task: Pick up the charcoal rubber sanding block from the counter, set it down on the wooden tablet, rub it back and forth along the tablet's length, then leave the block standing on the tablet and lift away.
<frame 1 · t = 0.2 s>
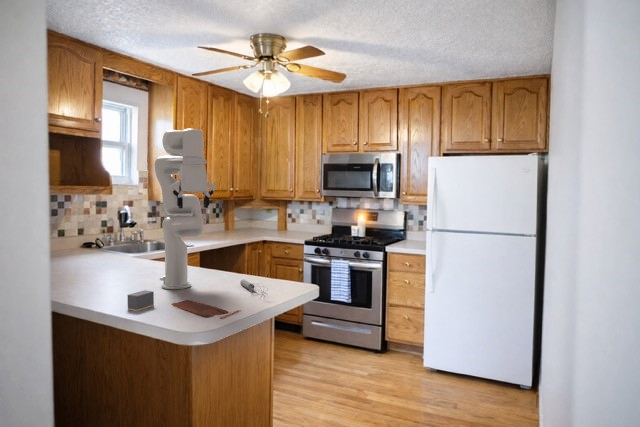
hand: (193, 207, 168), 37 cm above the table, tool pointing down, fingers open, 9 cm apart
sanding block: (141, 307, 164), on the table
carpenter pencil: (229, 315, 155), on the table
kitchen whisk: (250, 293, 190), on the table
wooden tablet: (197, 310, 164), on the table
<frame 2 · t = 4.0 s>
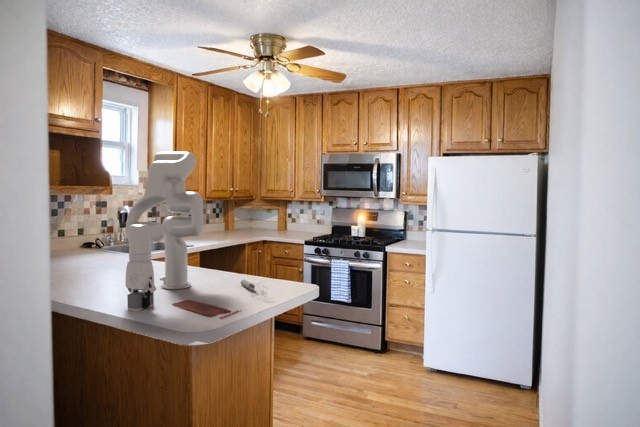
hand: (140, 306, 164), 0 cm above the table, tool pointing down, fingers closed on sanding block, 4 cm apart
sanding block: (140, 307, 164), on the table, touching gripper
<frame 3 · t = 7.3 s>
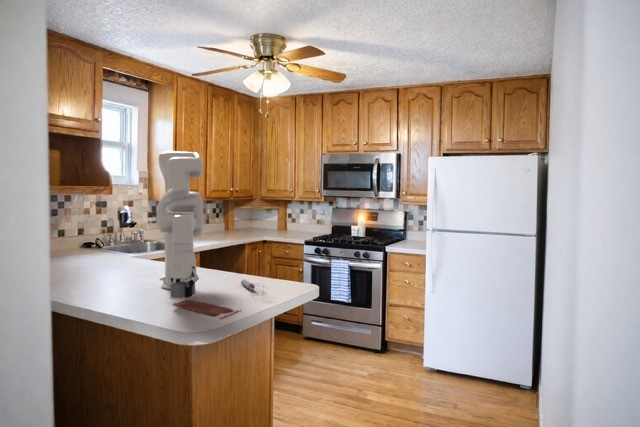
hand: (183, 295, 166), 4 cm above the table, tool pointing down, fingers closed on sanding block, 4 cm apart
sanding block: (183, 297, 166), point 3 cm above the table, touching gripper
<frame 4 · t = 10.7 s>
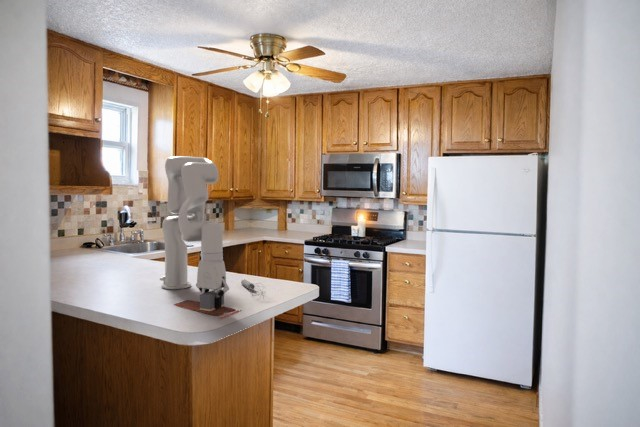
hand: (212, 306, 161), 1 cm above the table, tool pointing down, fingers closed on sanding block, 4 cm apart
sanding block: (212, 307, 161), point 1 cm above the table, touching gripper, wooden tablet
wooden tablet: (202, 309, 165), on the table, touching sanding block
everything else where it was.
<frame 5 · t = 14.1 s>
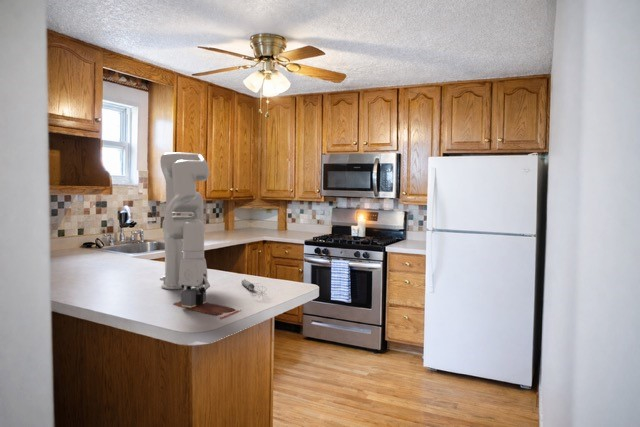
hand: (194, 303, 165), 2 cm above the table, tool pointing down, fingers closed on sanding block, 4 cm apart
sanding block: (193, 304, 165), point 1 cm above the table, touching gripper
wooden tablet: (202, 309, 166), on the table
everything else where it was.
when the fingers open (1 cm above the table, at t = 17.3 s): sanding block stays where it is, resting on wooden tablet.
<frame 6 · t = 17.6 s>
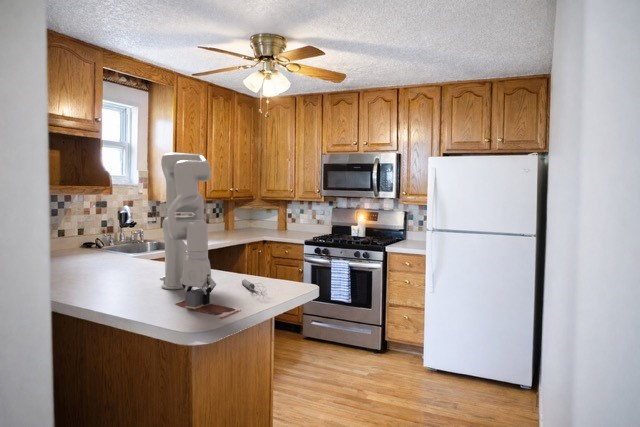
hand: (197, 302, 164), 2 cm above the table, tool pointing down, fingers open, 7 cm apart
sanding block: (197, 305, 164), point 1 cm above the table, touching wooden tablet
wooden tablet: (202, 309, 166), on the table, touching sanding block
everything else where it was.
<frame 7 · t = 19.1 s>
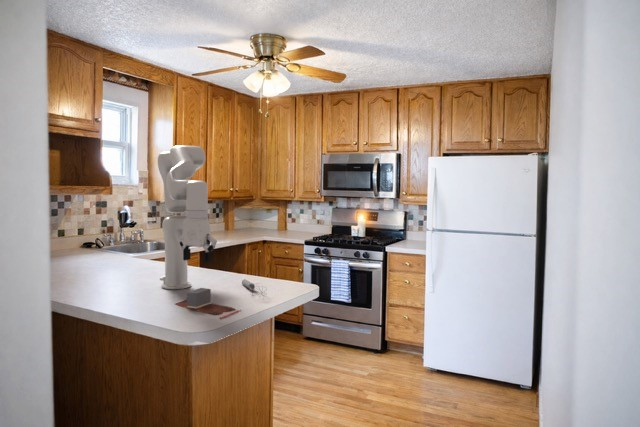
hand: (197, 261, 163), 17 cm above the table, tool pointing down, fingers open, 9 cm apart
nothing on the table moved.
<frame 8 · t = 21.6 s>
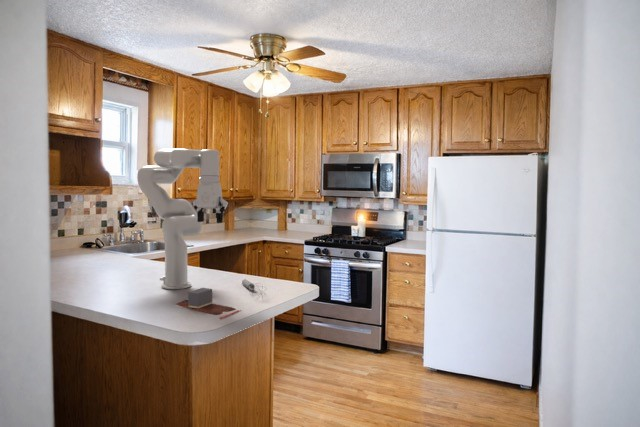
hand: (210, 222, 181), 30 cm above the table, tool pointing down, fingers open, 9 cm apart
at the end: sanding block inside the target area on the wooden tablet (1.3 cm from its centre), point 1.9 cm above the wooden tablet's base; sanding block touching wooden tablet; sanding block tilted 0° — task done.
